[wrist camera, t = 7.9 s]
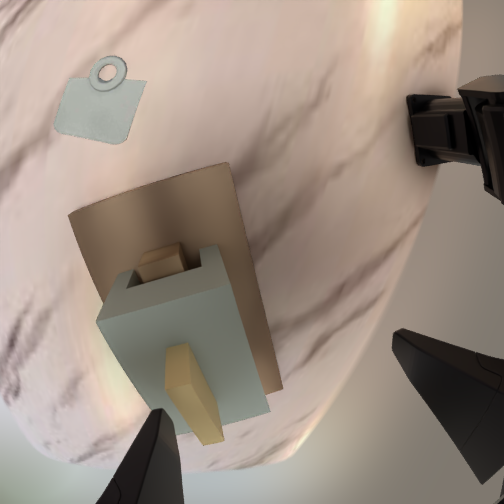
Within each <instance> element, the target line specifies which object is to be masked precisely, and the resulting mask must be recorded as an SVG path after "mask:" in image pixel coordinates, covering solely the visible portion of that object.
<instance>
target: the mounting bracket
mask: <svg viewBox="0 0 504 504" xmlns="http://www.w3.org/2000/svg"><path fill="white" fill-rule="evenodd" d="M110 64H112V65H114V66H115V67H116V69H117V73H116V75H115V77H114V78H113V79H111V80H109V81H103V80H102V79H101V78H99V77H98V75H99V71H100V70H101V69H102V68H103V67H104V66H106V65H110ZM126 73H127V66H126V63H125V62H124V60H123V59H122V58H120V57H117V56H107V57H104V58H102V59H100V60H99V61H98V62H97V63H95V64H94V66H93V68H92V69H91V72H90V76H89V78H69V81H68V83H67V86H66V89H65V91H64V94H63V97H62V100H61V103H60V106H59V109H58V112H57V115H56V118H55V121H54V127H55V129H56V131H57V132H59V133H61V134H65V135H70V136H76V137H81V138H85V139H90V140H95V141H100V142H104V143H109V144H120V143H122V142H124V141H125V140H126V139H127V136H128V133H129V130H130V127H131V124H132V121H133V118H134V115H135V112H136V109H137V106H138V103H139V101H140V98H141V95H142V93H143V90H144V87H145V85H146V82H147V81H141V80H128V79H125V77H126Z"/></svg>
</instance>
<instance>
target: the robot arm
mask: <svg viewBox="0 0 504 504" xmlns="http://www.w3.org/2000/svg"><path fill="white" fill-rule="evenodd" d="M458 92H459V95H460V96H461V97H462V98H451V97H450V96H437V95H417V94H412V95H408V97H407V101H408V106H409V111H410V117H411V123H412V129H413V136H414V143H415V150H416V159H417V164H418V165H419V166H422V167H425V166H431V165H436V164H442V163H447V162H453V161H454V162H460V163H466V164H472V165H477V166H481V168H482V173H483V178H484V189H485V191H486V192H488V193H490V194H491V195H493V196H494V197H496V198H497V199H499V200H500V201H501V203H502V204H503V205H504V75H492V76H484V77H479V78H477V79H475V80H474V81H471V82H469V83H468V84H466V85H464V86H462V87H460V88H458ZM412 99H413V101H412ZM392 351H393V353H394V355H395V356H396V358H397V360H398V362H399V363H400V365H401V367H402V368H403V370H404V372H405V374H406V375H407V377H408V379H409V380H410V382H411V383H412V385H413V386H414V387H415V389H416V390H417V391H418V393H419V394H420V396H421V397H422V398H423V400H424V401H425V402H426V404H427V405H428V406H429V408H430V409H431V411H432V412H433V414H434V415H435V416H436V418H437V419H438V421H439V422H440V423H441V425H442V426H443V427H444V429H445V431H446V432H447V433H448V435H449V436H450V438H451V439H452V441H453V442H454V444H455V445H456V447H457V448H458V450H459V451H460V453H461V454H462V456H463V457H464V459H465V460H466V462H467V463H468V465H469V466H470V468H471V469H472V471H473V472H474V474H475V476H476V477H477V479H478V480H479V482H480V483H481V484H482V485H483V484H484V483H485V482H486V481H487V480H489V479H490V478H491V477H492V476H493V475H494V474H495V473H496V472H497V471H498V470H499V469H501V468H502V467H503V466H504V359H499V358H495V357H491V356H487V355H484V354H481V353H478V352H476V353H475V352H474V351H471V350H468V349H465V348H462V347H459V346H455V345H452V344H449V343H446V342H443V341H440V340H437V339H434V338H431V337H428V336H425V335H422V334H419V333H416V332H413V331H410V330H407V329H404V328H401V329H399V330H397V331H395V332H394V333H393V340H392ZM96 504H184V496H183V487H182V475H181V463H180V455H179V450H178V445H177V439H176V434H175V428H174V423H173V421H172V419H171V418H170V416H169V415H168V414H167V412H166V411H165V410H164V409H163V408H157V409H153V410H152V411H151V412H150V414H149V416H148V418H147V419H146V421H145V423H144V424H143V426H142V428H141V429H140V431H139V433H138V435H137V436H136V438H135V440H134V441H133V443H132V445H131V447H130V448H129V450H128V452H127V453H126V455H125V457H124V459H123V460H122V462H121V464H120V465H119V467H118V469H117V471H116V473H115V474H114V476H113V478H112V479H111V481H110V483H109V484H108V486H107V487H106V489H105V491H104V492H103V494H102V495H101V497H100V498H99V500H98V501H97V502H96ZM494 504H504V480H503V485H502V490H501V495H500V498H499V499H498V500H497V501H496V502H495V503H494Z"/></svg>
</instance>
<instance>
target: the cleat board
mask: <svg viewBox="0 0 504 504" xmlns="http://www.w3.org/2000/svg"><path fill="white" fill-rule="evenodd" d="M68 217H69V220H70V223H71V226H72V229H73V232H74V234H75V237H76V240H77V243H78V245H79V248H80V250H81V253H82V256H83V258H84V261H85V263H86V265H87V268H88V270H89V273H90V275H91V277H92V280H93V282H94V284H95V286H96V289H97V291H98V293H99V295H100V297H101V299H102V301H103V304H104V302H105V300H106V298H107V296H108V294H109V292H110V290H111V288H112V286H113V284H114V281H115V279H116V277H117V275H118V274H119V273H123V272H126V271H129V270H132V269H134V270H135V273H136V275H137V278H138V280H139V283H140V285H141V284H145V283H148V282H151V281H155V280H158V279H161V278H165V277H168V276H172V275H175V274H178V273H182V272H185V271H188V270H192V269H195V268H199V267H202V265H201V258H200V251H199V249H202V248H205V247H209V246H212V245H215V244H217V245H218V248H219V251H220V254H221V257H222V260H223V263H224V266H225V269H226V272H227V275H228V278H229V281H230V284H231V287H232V291H233V294H234V297H235V301H236V304H237V307H238V311H239V314H240V317H241V320H242V324H243V327H244V330H245V333H246V337H247V340H248V343H249V346H250V350H251V353H252V356H253V359H254V362H255V365H256V368H257V372H258V375H259V378H260V381H261V384H262V387H263V390H264V393H265V395H267V394H270V393H273V392H276V391H279V390H282V389H283V385H282V381H281V377H280V373H279V369H278V365H277V361H276V357H275V352H274V348H273V344H272V340H271V336H270V332H269V328H268V324H267V320H266V316H265V311H264V307H263V303H262V299H261V295H260V291H259V287H258V283H257V279H256V274H255V270H254V266H253V262H252V258H251V254H250V250H249V246H248V241H247V237H246V233H245V229H244V225H243V221H242V217H241V212H240V208H239V204H238V200H237V196H236V192H235V188H234V184H233V179H232V175H231V171H230V167H229V163H227V162H224V163H220V164H217V165H213V166H209V167H205V168H201V169H198V170H194V171H191V172H187V173H184V174H180V175H177V176H173V177H170V178H167V179H164V180H160V181H157V182H154V183H151V184H148V185H145V186H142V187H139V188H136V189H133V190H130V191H127V192H124V193H121V194H118V195H115V196H113V197H110V198H107V199H104V200H102V201H99V202H96V203H94V204H91V205H88V206H86V207H83V208H81V209H78V210H76V211H74V212H72V213H71V214H69V215H68Z"/></svg>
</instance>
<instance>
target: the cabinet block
mask: <svg viewBox="0 0 504 504" xmlns="http://www.w3.org/2000/svg"><path fill="white" fill-rule="evenodd" d="M199 251H200V258H201V265H202V267H199V268H195V269H192V270H188V271H185V272H182V273H178V274H175V275H172V276H168V277H165V278H161V279H158V280H155V281H151V282H148V283H145V284H141V285H140V283H139V280H138V278H137V275H136V273H135V270H134V269H132V270H129V271H126V272H123V273H119V274H118V275H117V277H116V279H115V281H114V284H113V286H112V288H111V290H110V292H109V294H108V296H107V298H106V300H105V302H104V304H103V306H102V309H101V311H100V313H99V315H98V317H97V320H96V323H97V325H98V327H99V329H100V331H101V333H102V334H103V336H104V338H105V340H106V342H107V343H108V345H109V347H110V348H111V350H112V352H113V354H114V355H115V357H116V358H117V360H118V362H119V363H120V365H121V367H122V368H123V370H124V371H125V373H126V374H127V376H128V377H129V379H130V380H131V382H132V384H133V385H134V386H135V388H136V389H137V391H138V392H139V394H140V395H141V397H142V398H143V399H144V401H145V402H146V404H147V405H148V406H149V408H150V409H151V410H153V409H157V408H163V409H164V410H165V411H166V412H167V414H168V415H169V416H170V418H171V419H172V421H173V423H174V428H175V434H176V435H180V434H186V433H191V432H194V434H195V435H196V436H197V438H198V439H199V441H200V442H201V443H202V445H203V446H204V445H209V444H214V443H218V442H222V441H224V436H223V431H222V425H226V424H230V423H234V422H238V421H241V420H245V419H248V418H252V417H255V416H259V415H262V414H265V413H268V412H271V411H270V408H269V405H268V402H267V399H266V396H265V393H264V390H263V387H262V384H261V381H260V378H259V375H258V372H257V368H256V365H255V362H254V359H253V356H252V353H251V350H250V346H249V343H248V340H247V337H246V333H245V330H244V327H243V324H242V320H241V317H240V314H239V311H238V307H237V304H236V301H235V297H234V294H233V291H232V287H231V284H230V281H229V278H228V275H227V272H226V269H225V266H224V263H223V260H222V257H221V254H220V251H219V248H218V245H217V244H215V245H212V246H209V247H205V248H202V249H199Z"/></svg>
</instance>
